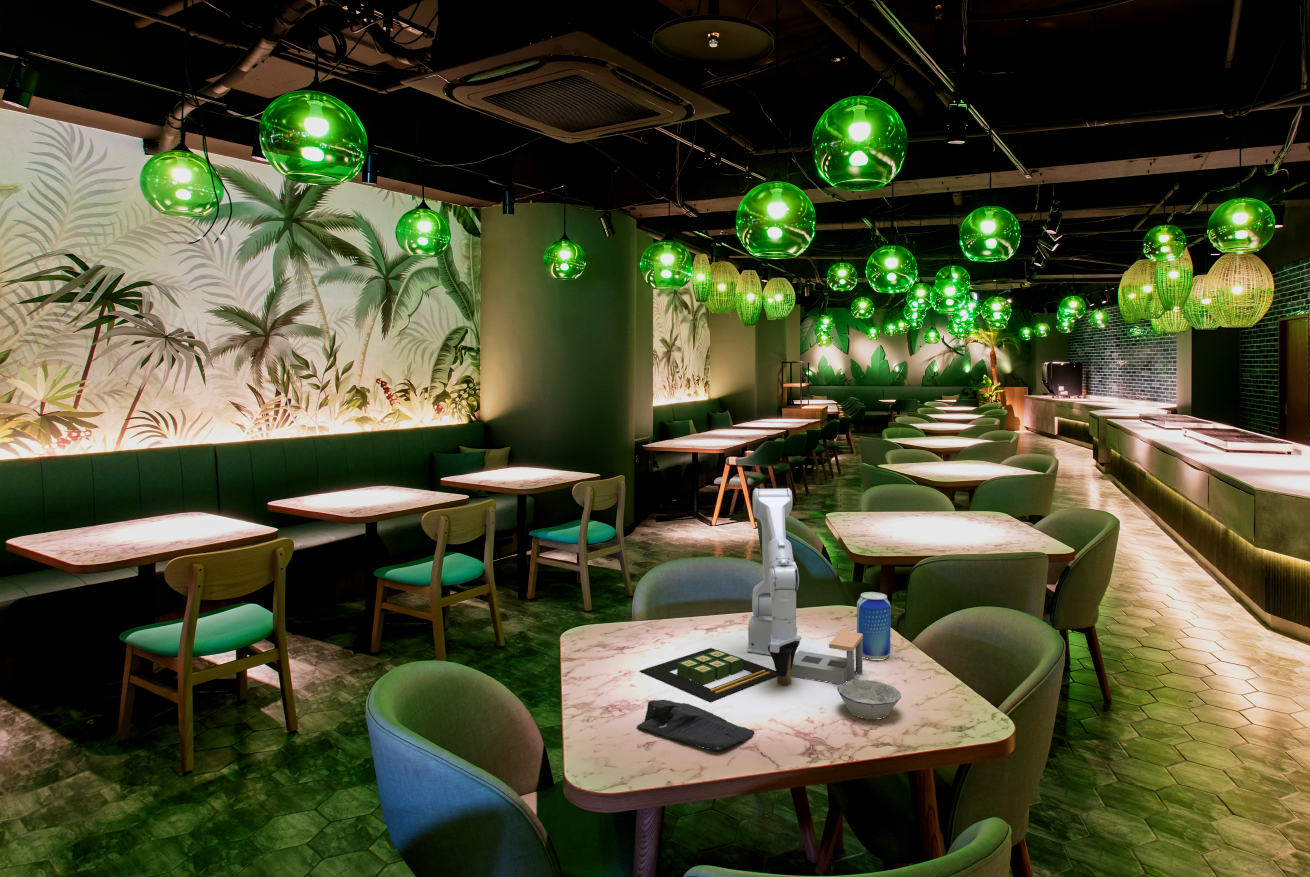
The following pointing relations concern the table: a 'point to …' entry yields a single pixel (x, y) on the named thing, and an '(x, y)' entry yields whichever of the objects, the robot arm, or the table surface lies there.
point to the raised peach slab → (849, 650)
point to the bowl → (869, 698)
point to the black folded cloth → (692, 725)
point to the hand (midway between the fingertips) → (784, 673)
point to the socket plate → (819, 667)
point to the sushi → (709, 673)
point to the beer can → (874, 624)
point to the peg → (786, 680)
